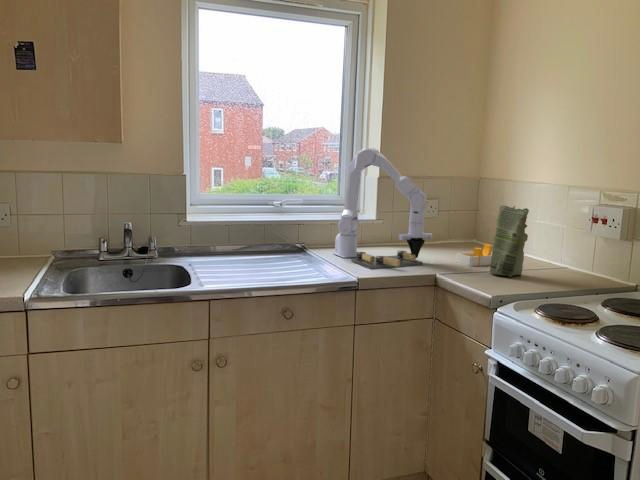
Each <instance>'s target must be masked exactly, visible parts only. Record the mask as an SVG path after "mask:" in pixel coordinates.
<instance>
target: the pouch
mask: <svg viewBox="0 0 640 480" xmlns="http://www.w3.org/2000/svg"><path fill="white" fill-rule="evenodd" d="M529 212H530V210H529V209H528V208H527V207H525V208H522V209H521V208H516V205H514V206H513V207H510V206H509V205H501V206H500V207H499V208H498V213H497V217H496V221H495V235H494V237H493V245H492V258H491V265H489V266H490V268H489V273H490V274H492V275H495V276H502V277H503V276H504V277H510V278H512V277H513V276H519V277H521V276H522V272H523V265H524V261H525V251H524V248H525V244H526V242H527V241H528V236H529V235H528V234H527V233H526V231H525V230H526V228H527V227H528V225H527V224H526V223H527V219H528V214H529Z"/></svg>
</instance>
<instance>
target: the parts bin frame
mask: <svg viewBox="0 0 640 480" xmlns="http://www.w3.org/2000/svg"><path fill="white" fill-rule="evenodd" d="M492 251H493V250H492ZM492 251H491V255H489V256H480V264H479V266H491V258H492ZM473 254H474V251H467V252H456V258H455V259H456V260H455V262H456V263H458V264H462V265H465V266H468V267H478V263H479V257H478V256H475V257H473Z"/></svg>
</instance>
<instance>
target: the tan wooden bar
mask: <svg viewBox="0 0 640 480" xmlns="http://www.w3.org/2000/svg"><path fill="white" fill-rule="evenodd" d="M374 257H375V256H374V255H372V254H369V253H367V252H366V251H357V253H356V257H355V258H357V259H362V260H365V261H368V262H374Z"/></svg>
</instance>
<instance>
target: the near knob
mask: <svg viewBox="0 0 640 480" xmlns="http://www.w3.org/2000/svg"><path fill="white" fill-rule="evenodd" d="M385 256H386V255H376V256H375V257H376V263H380V264H388V265H393V266H400V260H398V259H393V258H388V257H385Z"/></svg>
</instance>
